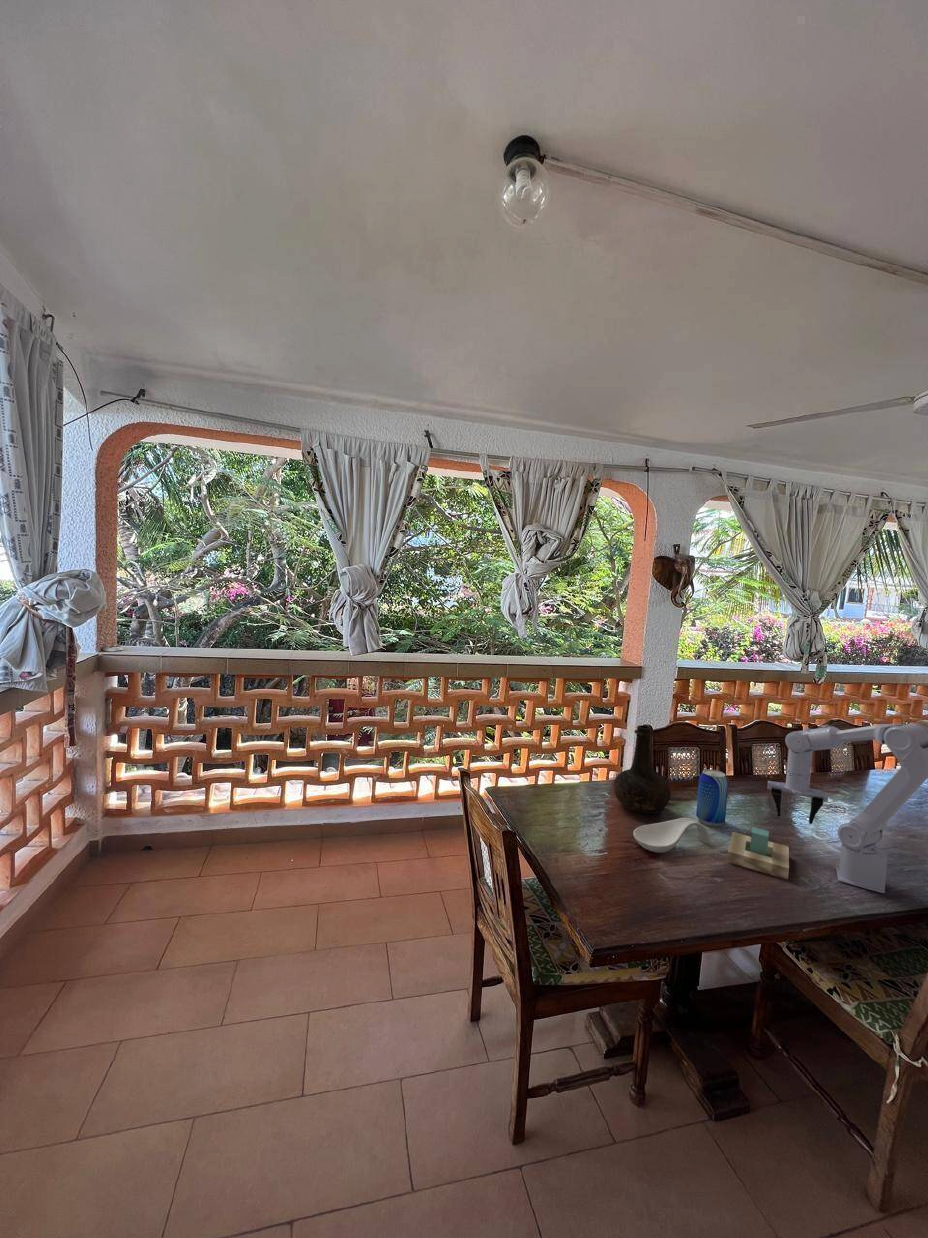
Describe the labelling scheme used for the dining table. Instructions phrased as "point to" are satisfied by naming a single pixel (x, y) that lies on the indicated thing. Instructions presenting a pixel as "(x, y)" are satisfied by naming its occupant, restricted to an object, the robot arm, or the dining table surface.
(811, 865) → the dining table surface
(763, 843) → the teal block
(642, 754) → the glass bottle
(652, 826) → the spoon rest
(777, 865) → the board
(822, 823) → the dining table surface
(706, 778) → the beer can
